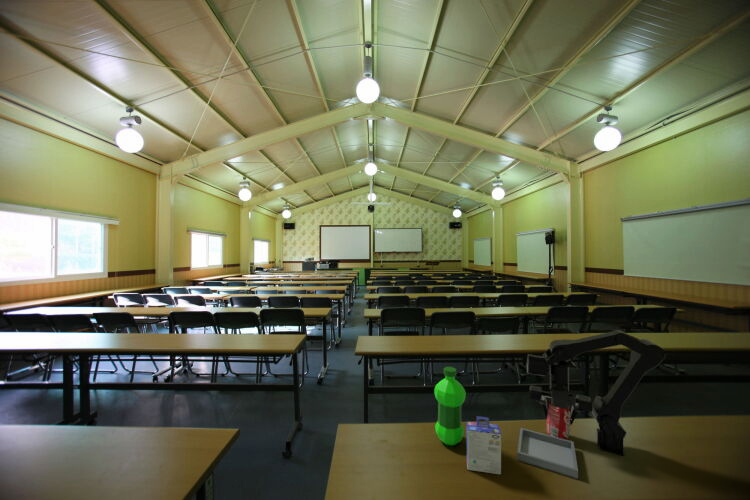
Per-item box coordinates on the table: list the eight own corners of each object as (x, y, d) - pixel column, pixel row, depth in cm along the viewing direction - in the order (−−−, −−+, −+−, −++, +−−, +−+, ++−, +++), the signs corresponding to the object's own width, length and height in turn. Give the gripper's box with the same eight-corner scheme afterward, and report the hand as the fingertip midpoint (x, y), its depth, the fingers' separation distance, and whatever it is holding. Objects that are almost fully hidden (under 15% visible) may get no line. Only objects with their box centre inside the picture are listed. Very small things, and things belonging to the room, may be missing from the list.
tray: (573, 449, 101) (573, 441, 101) (578, 479, 88) (578, 470, 88) (520, 434, 109) (520, 427, 109) (517, 460, 96) (517, 452, 96)
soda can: (567, 433, 109) (569, 400, 109) (570, 444, 103) (573, 410, 102) (544, 427, 112) (547, 395, 112) (546, 438, 106) (549, 404, 105)
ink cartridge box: (498, 462, 95) (498, 416, 95) (502, 475, 89) (502, 427, 89) (465, 458, 97) (466, 413, 97) (467, 470, 91) (467, 422, 91)
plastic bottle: (430, 444, 103) (430, 371, 103) (440, 428, 112) (441, 361, 112) (459, 454, 98) (460, 378, 98) (468, 437, 107) (468, 367, 107)
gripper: (528, 380, 105) (528, 425, 105) (595, 393, 96) (594, 442, 96) (530, 369, 114) (529, 410, 115) (590, 379, 105) (589, 424, 105)
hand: (558, 421), depth 107 cm, fingers closed on soda can, 7 cm apart
